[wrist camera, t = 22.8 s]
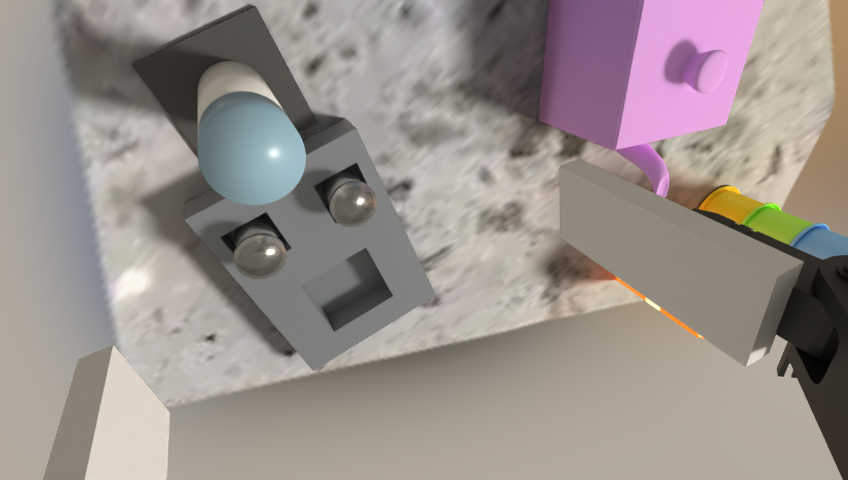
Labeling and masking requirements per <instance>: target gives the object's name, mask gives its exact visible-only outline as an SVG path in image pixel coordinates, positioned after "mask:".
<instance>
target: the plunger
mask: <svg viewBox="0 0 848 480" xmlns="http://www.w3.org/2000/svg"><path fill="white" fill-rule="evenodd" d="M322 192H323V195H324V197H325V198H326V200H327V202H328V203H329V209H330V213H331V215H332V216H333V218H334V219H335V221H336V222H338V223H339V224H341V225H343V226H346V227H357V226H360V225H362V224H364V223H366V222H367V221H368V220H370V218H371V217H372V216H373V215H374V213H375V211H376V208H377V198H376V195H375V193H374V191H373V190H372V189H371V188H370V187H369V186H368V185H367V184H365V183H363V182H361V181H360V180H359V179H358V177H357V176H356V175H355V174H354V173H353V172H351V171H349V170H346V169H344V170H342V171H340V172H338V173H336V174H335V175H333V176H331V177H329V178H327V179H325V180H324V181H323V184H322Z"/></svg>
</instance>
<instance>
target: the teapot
mask: <svg viewBox="0 0 848 480" xmlns="http://www.w3.org/2000/svg"><path fill="white" fill-rule="evenodd" d="M763 3H764V0H549V8H548V19H547V30H546V41H545V51H544V62H543V73H542V84H541V95H540V106H539V117H538V120H539V121H541V122H544V123H546V124H549V125H551V126H554V127H556V128H559V129H561V130H563V131H566V132H568V133H571V134H573V135H576V136H578V137H581V138H583V139H586V140H588V141H591V142H593V143H596V144H598V145H600V146H603V147H605V148H608V149H610V150H615V151H616V152H618V153H619V154H620V155H622V156H623V157H625V158H626V159H627V160H629V161H630V162H632V163H633V164H635V165H636V166H637V167H639V168H640V169H641V170H642V171H643V172H644V173H645V174H646V176H647V177H648V178H649V180H650V182H651V184H652V187H653V191H654V193H655V194H658V195H660V196H662V197H664V198H665V197H666V195H667V192H668V188H669V172H668V169H667V167H666V165H665V163H664V161H663V160H662V159H661V157H660V156H659V155H658V154H657V153H656V151H655V150H654V149H653V148H652V147H651V145H650V144H649V142H654V141H658V140H663V139H667V138H671V137H676V136H680V135H684V134H688V133H692V132H697V131H701V130H705V129H709V128H713V127H717V126H721V125H724V124H726V122H727V118H728V115H729V112H730V109H731V106H732V102H733V99H734V96H735V93H736V90H737V87H738V84H739V80H740V77H741V74H742V71H743V68H744V65H745V61H746V58H747V55H748V52H749V49H750V46H751V42H752V39H753V36H754V32H755V29H756V26H757V23H758V19H759V16H760V13H761V9H762V6H763Z"/></svg>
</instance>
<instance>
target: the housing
mask: <svg viewBox="0 0 848 480" xmlns="http://www.w3.org/2000/svg"><path fill="white" fill-rule="evenodd" d="M303 143H304V147H305V152H306V164H305V169H304V172H303V175H302V177H301V179H300V181H299V183H298V184H297V185H296V187H295V188H294V189H293V190H292V191H291V192H290V193H288V194H287V195H286V196H284V197H282V198H281V199H279V200H277V201H274V202H271V203H268V204H262V205H246V204H240V203H237V202H233V201H231V200H229V199H227V198H225V197H223V196H221V195H220V194H219V193H217V192H216V191H215V190H214V189H211V190H209V191H207V192H205V193H203V194H201V195H199V196H198V197H196V198H194V199H192V200H190V201H188V202H186V203H185V217H184V220H185V221H186V223H187V224H188V225H189V226H190V227H191V228H192V230H193V231H194V232H195V233H196V234H197V235H198V237H199V238H200V239H201V240H202V241H203V243H204V244H205V245H206V246H207V247H208V248H209V250H210V251H211V252H212V253H213V254H214V255H215V257H216V258H217V259H218V260H219V261H220V262H221V264H222V265H223V266H224V267H225V268H226V269H227V271H228V272H229V273H230V274H231V275H232V276H233V278H234V279H235V280H236V281H237V282H238V283H239V285H240V286H241V287H242V288H243V289H244V290H245V292H246V293H247V294H248V295H249V296H250V297H251V299H252V300H253V301H254V302H255V303H256V304H257V306H258V307H259V308H260V309H261V310H262V311H263V313H264V314H265V315H266V316H267V317H268V318H269V320H270V321H271V322H272V323H273V324H274V326H275V327H276V328H277V329H278V330H279V331H280V333H281V334H282V335H283V336H284V337H285V338H286V340H287V341H288V342H289V343H290V344H291V345H292V347H293V348H294V349H295V350H296V351H297V352H298V354H299V355H300V356H301V357H302V358H303V359H304V361H305V362H306V363H307V364H308V365H309V366H310V368H311V369H312V370H313V371H314V370H316V369H317V368H319V367H320V366H322V365H324V364H325V363H327V362H329V361H330V360H332V359H333V358H335V357H337V356H338V355H340V354H342V353H343V352H345V351H346V350H348V349H350V348H351V347H353V346H354V345H356V344H358V343H359V342H361V341H363V340H364V339H366V338H367V337H369V336H371V335H372V334H374V333H376V332H377V331H379V330H380V329H382V328H384V327H385V326H387V325H388V324H390V323H392V322H393V321H395V320H397V319H398V318H400V317H401V316H403V315H405V314H406V313H408V312H410V311H411V310H413V309H414V308H416V307H418V306H419V305H421V304H422V303H424V302H426V301H427V300H429V299H431V298H432V297H434V296H435V293H434V291H433V288H432V286H431V284H430V282H429V280H428V278H427V276H426V274H425V272H424V270H423V267H422V265H421V263H420V261H419V259H418V257H417V255H416V253H415V251H414V249H413V246H412V244H411V242H410V240H409V238H408V236H407V234H406V232H405V230H404V228H403V225H402V223H401V221H400V219H399V217H398V215H397V213H396V211H395V209H394V207H393V204H392V202H391V200H390V198H389V196H388V194H387V192H386V190H385V188H384V186H383V183H382V181H381V179H380V177H379V175H378V173H377V171H376V169H375V167H374V165H373V163H372V160H371V158H370V156H369V154H368V152H367V150H366V148H365V146H364V144H363V142H362V139H361V137H360V135H359V133H358V131H357V129H356V128H355V127H354V126H353V125H352V124H351V123H350V122H349V121H348V120H346V119H343V120H341V121H339V122H337V123H336V124H334V125H332V126H330V127H328V128H326V129H324V130H322V131H320V132H319V133H317V134H315V135H313V136H311V137H309V138H307V139H305V140H303ZM344 169H346V170H349V171H351V172H353V173H354V174H355V175H356V176H357V177H358V179H359V180H360V181H361V182H363V183H365V184H367V185H368V186H369V187H370V188H371V189H372V190H373V191H374V193H375V195H376V198H377V208H376V211H375V213H374V215H373V216H372V217H371V218H370V220H368V221H367V222H366V223H364V224H362V225H360V226H357V227H346V226H343V225H341V224H339V223H338V222H336V221H335V219H334V218H333V216H332V215H331V213H330V209H329V203H328V202H327V200H326V198H325V197H324V195H323V192H322V184H323V181H324V180H325V179H327V178H329V177H331V176H333V175H335V174H336V173H338V172H340V171H342V170H344ZM256 217H261V218H264V219H266V220H268V221H270V222H271V223H272V225H273V226H274V228H275V231H276V234H277V237H278V239H279V240H281V242H282V243H283V245H284V247H285V249H286V253H287V259H286V262H285V265H284V267H283V268H282V269H281V270H280V271H279V272H278V273H277V274H275V275H274V276H272V277H269V278H266V279H251V278H248V277H246V276H244V275H242V274H241V273H240V272H239V271H238V270H237V268H236V266H235V263H234V251H235V248H236V245H235V239H234V231H235V229H236V228H238V227H240V226H242V225H243V224H245V223H247V222H249V221H251V220H253V219H254V218H256Z"/></svg>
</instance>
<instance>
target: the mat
mask: <svg viewBox="0 0 848 480" xmlns="http://www.w3.org/2000/svg"><path fill="white" fill-rule="evenodd" d="M222 61H237V62H241V63H244V64H246V65H248V66H250V67H252V68H253V69H254V70H256V71H257V72H258V73H259V74H260V75H261V77H262V78H263V79H264V81H265V82H266V84H267V86H268V87H269V89H270V90H271V92H272V93H273V95H274V96H275V98H276V99H277V101H278V102H279V104H280V105H281V107H282V108H283V110H284V112H285V113H286V115H287V116H288V118H289V119H290V121H291V122H292V124H293V125H294V127H295V128H296V130H297V131H298V132H300V131H302V130H304V129H306V128H308V127H309V126H311V125H313V124H315V123H317V121H316V119H315V117H314V115H313V114H312V112H311V110H310V108H309V106H308V104H307V102H306V100H305V98H304V97H303V95H302V93H301V91H300V89H299V87H298V85H297V83H296V82H295V80H294V78H293V76H292V74H291V72H290V70H289V68H288V66H287V65H286V63H285V61H284V59H283V57H282V55H281V53H280V51H279V49H278V48H277V46H276V44H275V42H274V40H273V38H272V36H271V34H270V33H269V31H268V29H267V27H266V25H265V23H264V21H263V19H262V17H261V16H260V14H259V12H258V10H257V8H256V6H255V7H252V8H250V9H248V10H246V11H244V12H242V13H240V14H238V15H235V16H233V17H231V18H229V19H227V20H225V21H223V22H221V23H218V24H216V25H214V26H212V27H210V28H208V29H206V30H204V31H201V32H199V33H197V34H195V35H193V36H191V37H189V38H186V39H184V40H182V41H180V42H178V43H176V44H174V45H172V46H169V47H167V48H165V49H163V50H161V51H159V52H157V53H155V54H152V55H150V56H148V57H146V58H144V59H142V60H140V61H138V62H135V63H133V64H132V65H133V67H134V68H135V69H136V71H137V72H138V73H139V75H140V76H141V78H142V79H143V80H144V82H145V83H146V84H147V86H148V87H149V88H150V90H151V91H152V92H153V94H154V95H155V96H156V98H157V99H158V100H159V102H160V103H161V104H162V106H163V107H164V108H165V110H166V111H167V112H168V114H169V115H170V116H171V118H172V119H173V121H174V122H175V123H176V125H177V126H178V127H179V129H180V130H181V131H182V133H183V134H184V135H185V137H186V138H187V139H188V141H189V142H190V143H191V145H192V146H193V147H194V149H195V150H196V151H197V153H198V83H199V80H200V78H201V76H202V74H203V73H204V72H205V71H206V70H207V69H208V68H209V67H210V66H212V65H214V64H216V63H218V62H222Z"/></svg>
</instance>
